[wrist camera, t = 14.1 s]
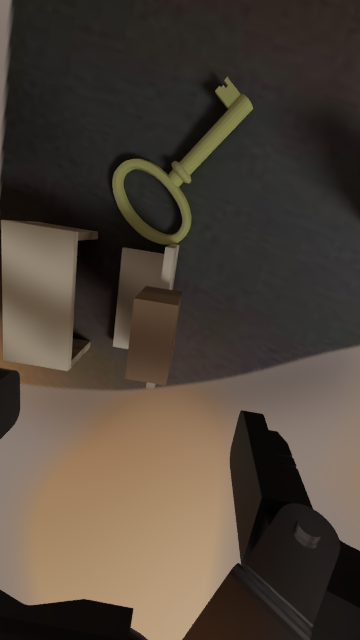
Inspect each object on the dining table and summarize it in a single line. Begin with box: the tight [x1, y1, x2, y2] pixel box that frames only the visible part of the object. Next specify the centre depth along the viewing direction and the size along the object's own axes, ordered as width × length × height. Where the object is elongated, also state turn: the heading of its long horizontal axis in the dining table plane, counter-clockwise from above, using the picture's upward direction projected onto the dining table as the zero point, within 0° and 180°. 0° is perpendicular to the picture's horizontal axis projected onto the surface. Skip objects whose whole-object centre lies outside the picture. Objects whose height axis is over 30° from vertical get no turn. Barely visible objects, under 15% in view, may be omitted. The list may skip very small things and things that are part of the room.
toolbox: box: [1, 220, 98, 371], centre depth 24 cm, size 10×5×5 cm, turn 171°
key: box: [112, 77, 253, 245], centre depth 23 cm, size 7×12×2 cm, turn 151°
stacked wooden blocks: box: [113, 244, 182, 390], centre depth 22 cm, size 10×6×9 cm, turn 171°
